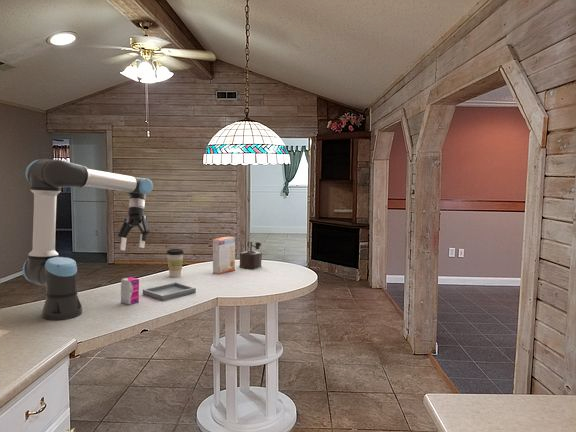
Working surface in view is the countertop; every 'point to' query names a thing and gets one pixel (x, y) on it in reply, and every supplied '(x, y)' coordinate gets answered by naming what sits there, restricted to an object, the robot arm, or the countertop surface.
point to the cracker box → (223, 255)
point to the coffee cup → (175, 262)
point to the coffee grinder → (251, 257)
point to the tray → (169, 291)
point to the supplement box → (129, 291)
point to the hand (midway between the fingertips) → (132, 249)
